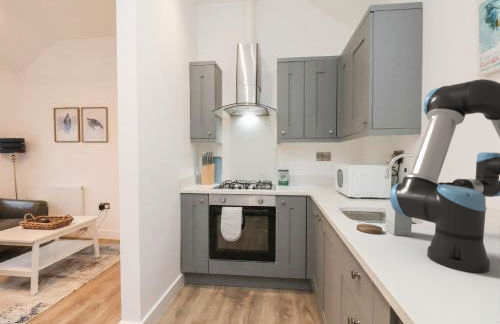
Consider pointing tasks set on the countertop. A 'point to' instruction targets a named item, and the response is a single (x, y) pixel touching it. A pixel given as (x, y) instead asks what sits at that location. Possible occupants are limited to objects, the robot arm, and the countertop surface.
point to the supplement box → (397, 222)
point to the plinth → (369, 228)
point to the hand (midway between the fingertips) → (420, 186)
